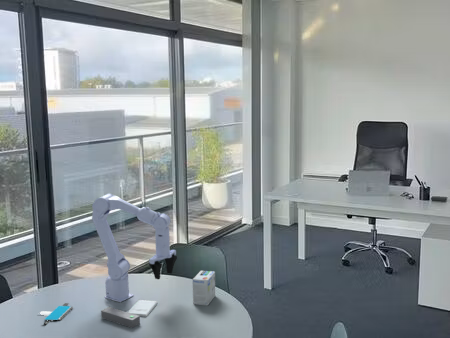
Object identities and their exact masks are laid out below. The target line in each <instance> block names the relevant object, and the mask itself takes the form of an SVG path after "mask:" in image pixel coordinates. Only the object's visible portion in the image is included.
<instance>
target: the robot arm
mask: <svg viewBox="0 0 450 338" xmlns="http://www.w3.org/2000/svg"><path fill="white" fill-rule="evenodd" d="M91 207H92V215H91V219H92V222H93V224H94V225H93V226H94V228H95V229H96V233H97V235H98V238H99V240H100V241H101V244H102V245H101V246H102V247H103V249H104V252H105V255H106V257H107V262H106V267H107V275H108V277H107V278H106V280H105V296H104V298H105V299H108V300H110V301H111V300H112V301H116V302H118V303H121V302H124V301H125V300H128V299H131V297H134V294H133V293H130V287H129V283H130V282H129V274H128V273H129V272H128V271H130V269H131V264H130V262H129V260H128V259H127V258H126V257H125V255H124V254H123V253H121V251H120V250H119V246H118V243H117V242H116V239H115V237H114V235H113V232H112V231H113V230H112V229H111V227H110V224H109V222H108V219H107V218H108V216H109V214H110V212H111V211H114V210H120V211H123V212H125V213H129V214H131V215H133V216H136V217H137V219H138V220H139V221H140V222H142V223H145V224H147V225H150V226H152V227H153V228H154V231H155V233H154V236H155V254H154V255H153V256H152V257H150V258H149V261H148V265H149V267H150V269H151V270H152V273H153V277H154V279H155V280H160V279H161V270H162V266H163V263H160V261H162V260H165V265H166V273H167V274H173V269H174V265H175V264H176V261H177V260H178V257H177V250H176V249H171V248H170V247H171V246H170V245H171V244H170V243H171V242H170V239H171V238H170V237H171V236H170V224H171V223H172V222H171V221H172V220H171V217H170V216H169V215H168V214H167V213H161V212H159V211H154V210H152V209H151V208H150V207H149V206H143V207H141V208H140V207H139V206H137V205H135V204H132V203H130V202H128V201H127V200H124V199H123V198H121V197H119V196H117V195H115V194H113V193H106V194H104V195H102V196H100V197H97V198H96V199H95V200H94V202H93V203H92V205H91Z"/></svg>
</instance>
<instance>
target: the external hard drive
mask: <svg viewBox="0 0 450 338" xmlns="http://www.w3.org/2000/svg"><path fill="white" fill-rule="evenodd" d="M157 305H158V300H157V301H156V300H145V299H144V300H143V299H138V300H137V301H136V303H134V305H132V307H131V308H130V309H129V310H128V311H127V312H128V313H131V314H135V315H138V316H140V317H144V318H145V317H147V318H148V316H149V315H150V314H151V312H152V311H153V310H154V308H156V306H157Z"/></svg>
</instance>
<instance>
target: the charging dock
mask: <svg viewBox="0 0 450 338" xmlns="http://www.w3.org/2000/svg"><path fill="white" fill-rule="evenodd" d="M100 314H101V316H100V317H101V319H104V320H107V321H109V322H113V323H116V324H118V325H121V326H122V325H123V326H126V327H128V328H131V329H133V328H135V327H137V326H139V325H140V324H141V316H138V315H135V314H131V313H128V311H125V310H120V309H117V308H114V307H112V306H108V307H106V308H104V309H101V310H100Z"/></svg>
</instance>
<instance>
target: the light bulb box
mask: <svg viewBox="0 0 450 338" xmlns="http://www.w3.org/2000/svg"><path fill="white" fill-rule="evenodd" d="M215 296H216V271H214V270H213V271H212V270H209V271H208V270H199V272H198V273H197V274H196V275H195V276H194V277H193V278H192V303H193V305H200V306H209V304H211V302H212V301H213V299H214V298H215Z"/></svg>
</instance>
